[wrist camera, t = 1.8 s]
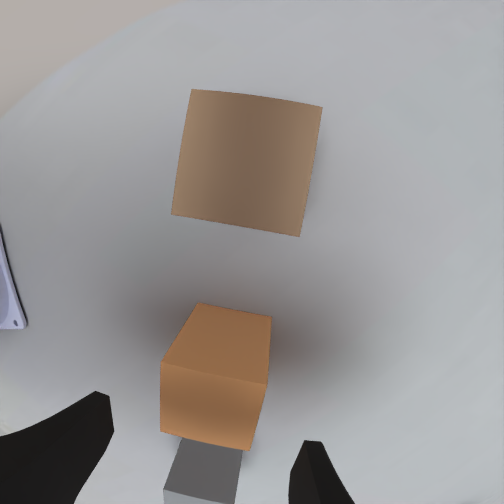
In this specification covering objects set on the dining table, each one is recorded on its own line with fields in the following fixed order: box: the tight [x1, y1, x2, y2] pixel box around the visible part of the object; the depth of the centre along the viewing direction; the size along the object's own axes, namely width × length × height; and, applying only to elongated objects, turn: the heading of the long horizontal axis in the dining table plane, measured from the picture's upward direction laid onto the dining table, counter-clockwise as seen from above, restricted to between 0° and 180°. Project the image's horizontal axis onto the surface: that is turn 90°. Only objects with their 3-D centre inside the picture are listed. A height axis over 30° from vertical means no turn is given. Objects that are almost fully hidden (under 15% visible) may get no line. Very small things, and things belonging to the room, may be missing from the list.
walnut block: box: [171, 89, 322, 237], centre depth 12 cm, size 4×4×6 cm
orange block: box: [160, 303, 272, 451], centre depth 14 cm, size 4×4×6 cm
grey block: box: [163, 437, 243, 504], centre depth 16 cm, size 4×4×6 cm
